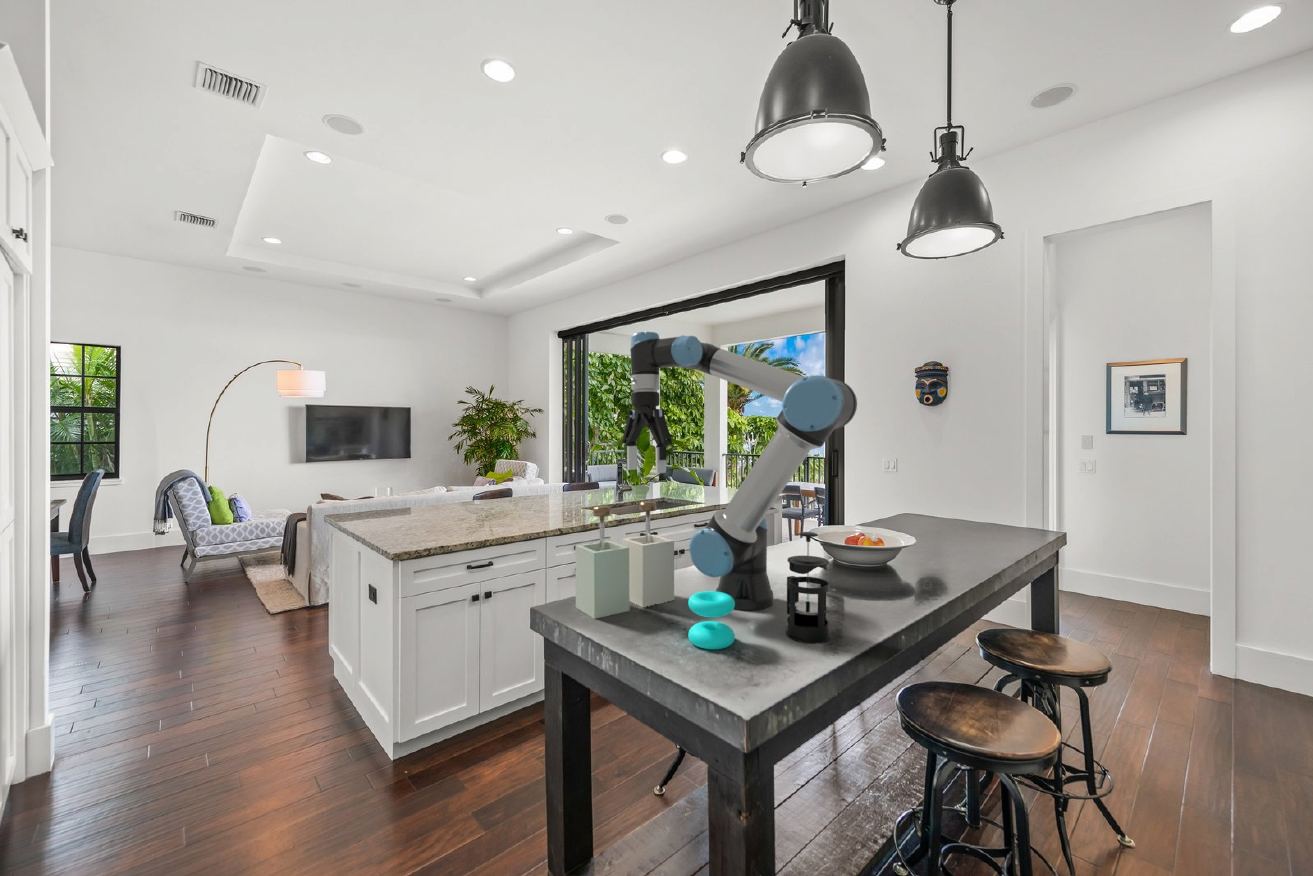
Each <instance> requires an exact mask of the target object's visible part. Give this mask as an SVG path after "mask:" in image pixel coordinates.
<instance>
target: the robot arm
mask: <svg viewBox="0 0 1313 876" xmlns="http://www.w3.org/2000/svg"><path fill="white" fill-rule="evenodd" d="M630 341H631V343H630V348H629V349H630V350H629V351H630V363H631V364H630V365H631V373H630V375H631V379H630V382H631V383H630V384H631V389H630V390H632V391H633V392H631V393H630V394H631V395H630V396H631V398H630V399H631V401H630V402H631V406H632V407H634V408H635V409H630V410H629V409H628V411H627V420H626V424H625V428H624V431H623V435H622V440H621V443H622V444H625V446H626V458H627V460H626V462H627V471H633V470H638V444H637V441H638V439H639V437H640V435H641V433H642V430H643V429H644V428H645V427H646V428H648V429H649V431H650V432H651V435H652V437H653V439H654V442H655V443H656V446H655V474H666V473H667V458H668V457H667V454H668V453H667V452H668V451H667V448H668V447H669V446H672V444H673V440H672V437H671V434H670V430H669V427H668V424H667V420H666V415H665V409H664V408H657V407H659V406H660V404H661V403H660V392H658V391H659V390H660V389H661V388H660V386H661V385H660V384H661V383H660V369H665V368H683V369H689V370H695V371H699V372H702V373H704V374H707V375H710V376H713V377H716V378H718V379H721V380H724V381H725V382H729V383H731V384H735V385H737V386H739V387H742V388H746V389H748V390H751V391H753V392H755V393H759V394H761V395H764V396H766V397H768V398H771V399H774V400H777V401H779V402H782V405H781V406H782V409H781V410H780V412H779V413H778V416H777V417H776V423H777V429H776V431H775V433H774V434H773V436H772V437H771V439H770V440H769V442H768V444H767V445H766V446H765V448H764V449H763V450H762V452H761V454H760V456H759V457H758V458H757V459H756V462H755V463H754V465H753V466H752V468H751V469H750V471H749V472H748V474H747V475H746V477H745V478H744V480H743V481H742V483H741V484H740V486H739V487H738V489H737V491H736V492H735V493H734V495H733V497H732V498H731V500H730V501H729V502H728V504H727V506H726V507H725V508H724V509H719V510H718V509H717V510H716V511H715V513H713V515H712V517H711V518H710V520H709V522H708V523H707V524H706V525H705V526H704V528H701V529H699V530H697V532H695V533H694V534H693V535H692V537H691V539H690V542H689V547H688V551H689V554H690V558H691V562H692V563H693V565H694V567H695V568H696V569H697V570H698V571H699V572H700V573H702V574H703V575H704V576H706V577H711V578H717V577H718V578H720V579H719V581H718V586H717V588H716V590H715V591H716V592H722V593H726V594H728V595H730V596H731V597H732V598H733V599H734V602H735V607H734V609H733V610H742V611H743V610H745V611H752V610H762V609H765V608H768V607H771V606H773V604H774V592H773V590H772V587H771V583H770V579H769V576H768V573H767V568H768V567H767V565H768V564H767V563H768V561H767V560H768V559H767V558H768V555H767V554H768V553H767V551H768V550H767V549H768V537H767V536H768V531H769V530H768V526H767V519H766V518H765V517H766V515H767V514H768V513H769V511H770V509H771V508H772V507H773V505H774V503H775V502H776V500H777V499H778V498H779V496H780V495H781V494H782V493H783V491H784V489H785V488H786V486H787V485H788V484H789V482H790V481H791V479H792V478H793V476H794V475H795V474H796V473H797V470H798V469H799V467H800V466H801V465H802V463H803V462H804V460H805V459H806V457H807V456H808V454H809V453H810V452H811V450H814V449H819V448H822V447H823V445H824V444H825V443H826V441H827V440H828V438H829V437H830V436H831V434H832V433H833V431H834V430H837V429H840V428H843V427H845V426H846V425H848V424H849V423H850V422H851V421H852V420H853V419H854V416H856V412H857V409H858V400H857V399H858V398H857V396H856V394H855V391H854V390H853V388H852V387H851V386H850V385H849V384H847V383H846V382H844V381H842V380H839V379H836V378H835V379H834V378H829V377H827V376H824V375H812V374H811V375H809V376H802V375H799V374H797V373H793V372H790V371H787V370H785V369H782V368H778V367H777V366H773V365H770V364H768V363H764V362H761V361H759V360H756V359H753V358H750V357H746V356H744V355H740V354H738V353H735V352H732V351H730V350H729V351H728V350H727V349H723V348H719V347H718V346H715V345H714V344H711V343H709V342H708V343H707V342H705V343H704V342H701V341H700V340H699V339H698V337H697V336H695V335H680V336H674V337H673V336H672V337H666V338H660V335H659V333H657V332H654V331H638V332H635V333H633V334H632V335H631V339H630Z"/></svg>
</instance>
